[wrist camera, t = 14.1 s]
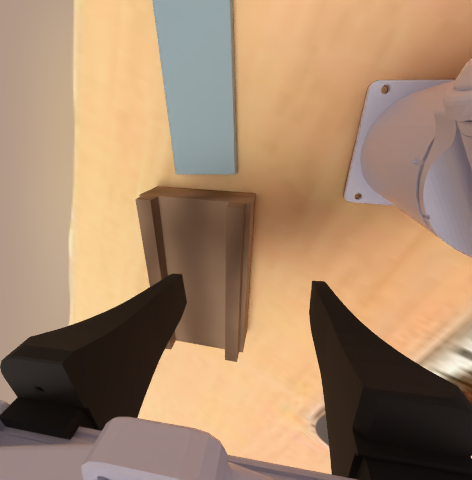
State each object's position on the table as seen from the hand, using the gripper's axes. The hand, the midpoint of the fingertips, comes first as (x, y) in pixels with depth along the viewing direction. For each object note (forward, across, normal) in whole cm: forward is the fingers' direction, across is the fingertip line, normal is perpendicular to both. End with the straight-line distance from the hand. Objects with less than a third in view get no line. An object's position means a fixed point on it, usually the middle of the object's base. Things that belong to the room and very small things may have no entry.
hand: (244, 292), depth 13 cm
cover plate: (+10, +4, -12) cm, 16 cm away
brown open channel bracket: (+10, +5, +4) cm, 12 cm away
